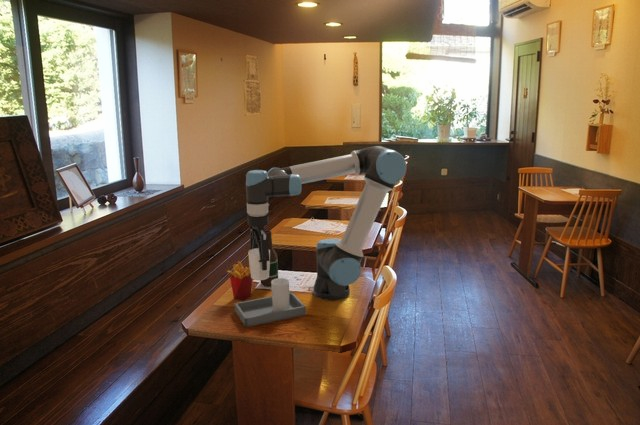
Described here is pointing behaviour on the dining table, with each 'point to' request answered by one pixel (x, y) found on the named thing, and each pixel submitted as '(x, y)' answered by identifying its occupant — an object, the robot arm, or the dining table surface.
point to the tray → (267, 311)
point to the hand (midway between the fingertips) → (260, 273)
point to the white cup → (256, 264)
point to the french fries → (241, 282)
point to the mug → (280, 294)
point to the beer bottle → (271, 263)
